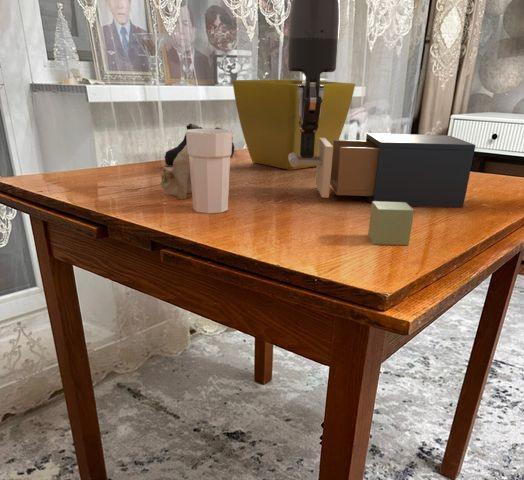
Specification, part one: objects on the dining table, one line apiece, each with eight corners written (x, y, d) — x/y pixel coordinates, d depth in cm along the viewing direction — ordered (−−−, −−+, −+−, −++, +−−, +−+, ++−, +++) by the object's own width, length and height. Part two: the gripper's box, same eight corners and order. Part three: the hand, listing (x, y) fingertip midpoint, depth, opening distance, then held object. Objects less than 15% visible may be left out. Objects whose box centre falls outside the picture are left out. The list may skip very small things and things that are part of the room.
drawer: (288, 196, 87) (291, 145, 83) (286, 183, 97) (288, 136, 93) (404, 199, 87) (412, 148, 84) (390, 186, 97) (396, 139, 94)
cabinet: (373, 205, 87) (380, 142, 83) (360, 189, 98) (366, 133, 94) (463, 208, 87) (475, 144, 83) (440, 191, 98) (450, 135, 94)
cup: (234, 205, 84) (234, 129, 79) (230, 215, 79) (230, 134, 73) (192, 203, 85) (189, 127, 79) (185, 213, 79) (181, 132, 74)
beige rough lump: (167, 177, 95) (191, 127, 89) (197, 199, 95) (223, 150, 89) (143, 189, 88) (167, 136, 82) (175, 213, 88) (202, 161, 82)
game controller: (231, 186, 110) (248, 139, 109) (207, 173, 105) (225, 123, 104) (183, 174, 121) (199, 131, 119) (160, 162, 115) (176, 116, 114)
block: (400, 235, 71) (405, 202, 69) (408, 245, 68) (414, 210, 66) (367, 234, 71) (371, 201, 69) (373, 244, 68) (378, 209, 65)
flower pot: (289, 174, 110) (294, 82, 102) (230, 161, 122) (230, 78, 114) (349, 166, 121) (357, 83, 113) (289, 155, 134) (293, 79, 126)
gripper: (344, 34, 76) (333, 164, 84) (333, 39, 87) (325, 152, 95) (290, 33, 76) (285, 163, 84) (286, 38, 87) (282, 151, 95)
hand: (306, 157), depth 90 cm, fingers closed
